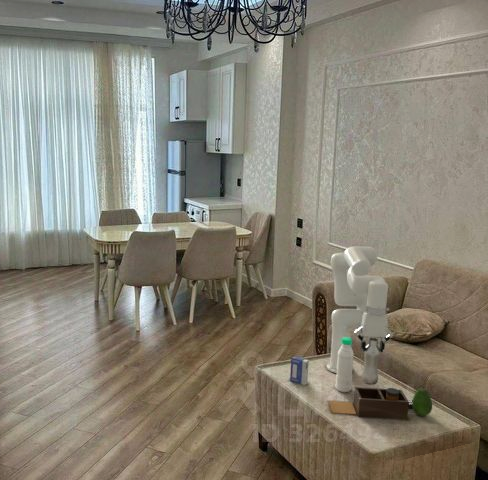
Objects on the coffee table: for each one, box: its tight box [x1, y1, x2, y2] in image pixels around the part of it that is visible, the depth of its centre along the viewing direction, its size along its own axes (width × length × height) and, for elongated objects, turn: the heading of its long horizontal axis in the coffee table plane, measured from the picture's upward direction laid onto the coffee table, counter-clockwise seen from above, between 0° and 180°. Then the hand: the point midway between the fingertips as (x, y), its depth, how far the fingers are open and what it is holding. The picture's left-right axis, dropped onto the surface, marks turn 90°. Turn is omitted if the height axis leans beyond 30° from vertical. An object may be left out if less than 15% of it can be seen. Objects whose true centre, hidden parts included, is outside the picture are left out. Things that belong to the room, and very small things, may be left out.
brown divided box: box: [352, 386, 410, 420], centre depth 231 cm, size 11×20×8 cm, turn 84°
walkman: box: [289, 355, 310, 386], centre depth 257 cm, size 8×3×12 cm, turn 54°
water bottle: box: [334, 337, 355, 393], centre depth 249 cm, size 7×7×25 cm
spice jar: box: [385, 387, 400, 400], centre depth 230 cm, size 5×5×10 cm
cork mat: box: [328, 400, 357, 415], centre depth 234 cm, size 10×10×1 cm
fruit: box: [411, 387, 433, 417], centre depth 228 cm, size 8×8×12 cm
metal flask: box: [361, 337, 381, 386], centre depth 228 cm, size 6×7×20 cm
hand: (372, 350), depth 227 cm, fingers closed on metal flask, 6 cm apart
